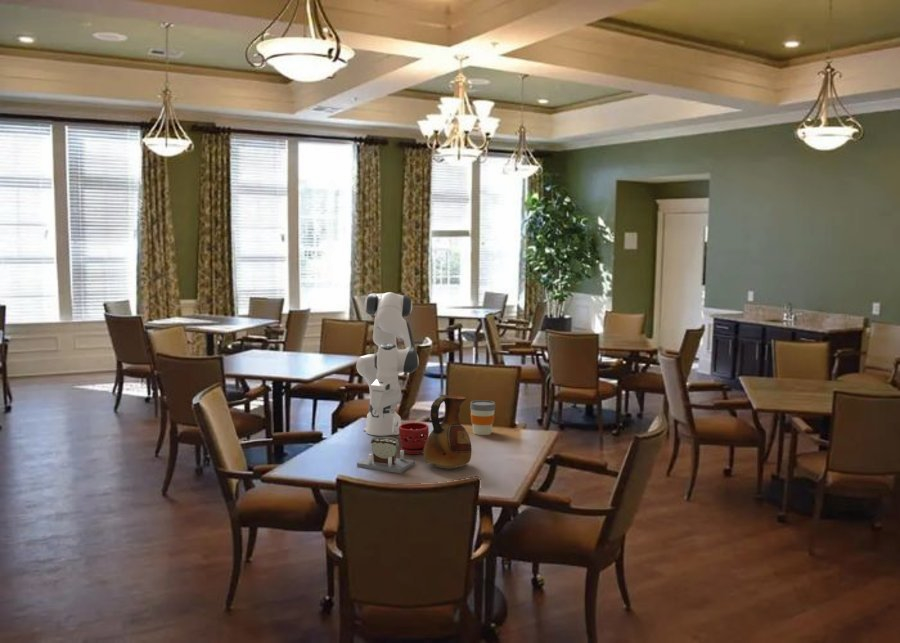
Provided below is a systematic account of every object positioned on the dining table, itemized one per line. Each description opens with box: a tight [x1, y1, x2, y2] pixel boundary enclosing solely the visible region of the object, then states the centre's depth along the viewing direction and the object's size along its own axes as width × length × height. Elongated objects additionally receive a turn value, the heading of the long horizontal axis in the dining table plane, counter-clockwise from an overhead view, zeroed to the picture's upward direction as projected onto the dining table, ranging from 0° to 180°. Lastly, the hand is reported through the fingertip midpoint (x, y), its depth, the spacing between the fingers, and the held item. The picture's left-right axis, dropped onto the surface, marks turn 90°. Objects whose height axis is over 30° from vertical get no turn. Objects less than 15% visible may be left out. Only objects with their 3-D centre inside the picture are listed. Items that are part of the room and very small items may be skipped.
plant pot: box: [398, 422, 430, 455], centre depth 345 cm, size 13×13×12 cm
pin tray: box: [356, 449, 416, 474], centre depth 323 cm, size 14×20×6 cm
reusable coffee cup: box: [469, 399, 496, 436], centre depth 382 cm, size 13×13×15 cm
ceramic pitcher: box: [423, 394, 473, 470], centre depth 323 cm, size 20×20×30 cm
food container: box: [370, 436, 400, 465], centre depth 323 cm, size 12×6×10 cm, turn 70°
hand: (386, 416), depth 322 cm, fingers open, 8 cm apart
